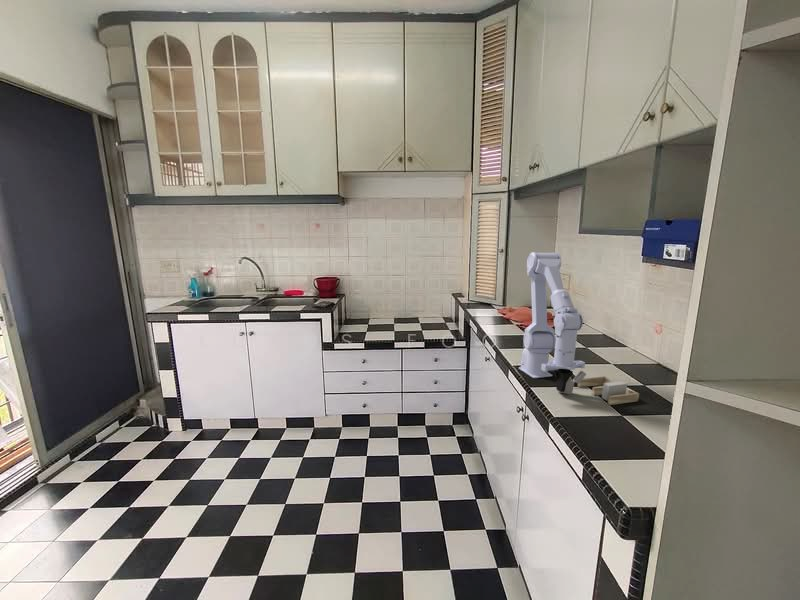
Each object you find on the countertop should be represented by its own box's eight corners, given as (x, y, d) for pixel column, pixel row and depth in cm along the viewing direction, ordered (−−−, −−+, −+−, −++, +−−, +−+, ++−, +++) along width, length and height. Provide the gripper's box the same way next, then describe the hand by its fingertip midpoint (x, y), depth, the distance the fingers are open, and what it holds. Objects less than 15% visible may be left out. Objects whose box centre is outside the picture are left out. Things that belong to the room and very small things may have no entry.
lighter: (559, 392, 111) (564, 369, 110) (557, 390, 113) (562, 367, 112) (581, 395, 111) (587, 372, 110) (579, 393, 113) (584, 370, 111)
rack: (577, 386, 117) (578, 379, 117) (603, 383, 120) (604, 376, 120) (609, 405, 105) (610, 397, 104) (637, 401, 108) (639, 393, 107)
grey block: (601, 397, 109) (603, 383, 108) (619, 395, 111) (621, 381, 110) (606, 400, 108) (609, 386, 107) (624, 398, 109) (627, 383, 108)
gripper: (553, 355, 103) (549, 398, 105) (594, 352, 106) (589, 393, 108) (538, 348, 109) (534, 388, 112) (577, 345, 113) (572, 384, 115)
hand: (560, 390), depth 111 cm, fingers closed, pressing on lighter
